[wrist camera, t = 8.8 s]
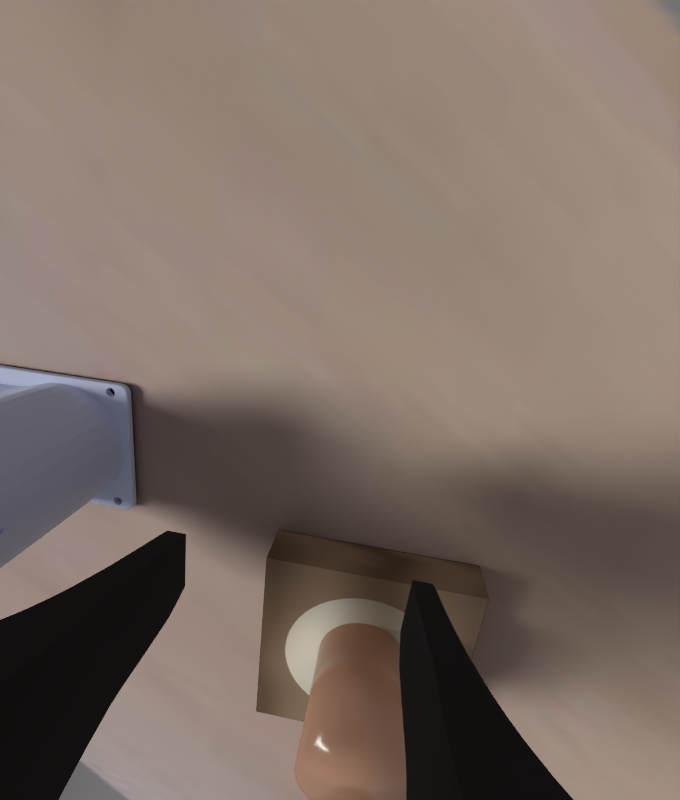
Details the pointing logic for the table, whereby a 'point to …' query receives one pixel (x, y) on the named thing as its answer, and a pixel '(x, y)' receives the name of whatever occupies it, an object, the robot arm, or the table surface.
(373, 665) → the terracotta cylinder
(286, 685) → the plinth
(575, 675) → the table surface
